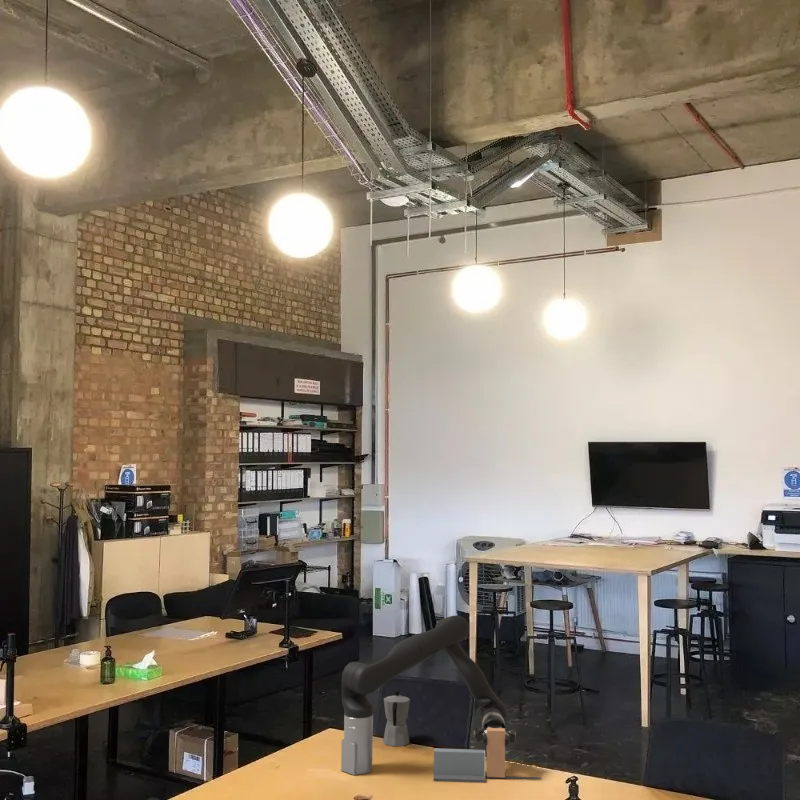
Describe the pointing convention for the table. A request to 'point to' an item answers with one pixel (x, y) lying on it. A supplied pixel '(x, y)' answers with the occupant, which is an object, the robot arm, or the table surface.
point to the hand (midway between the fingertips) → (496, 742)
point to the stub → (495, 752)
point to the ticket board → (462, 766)
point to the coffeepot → (396, 720)
